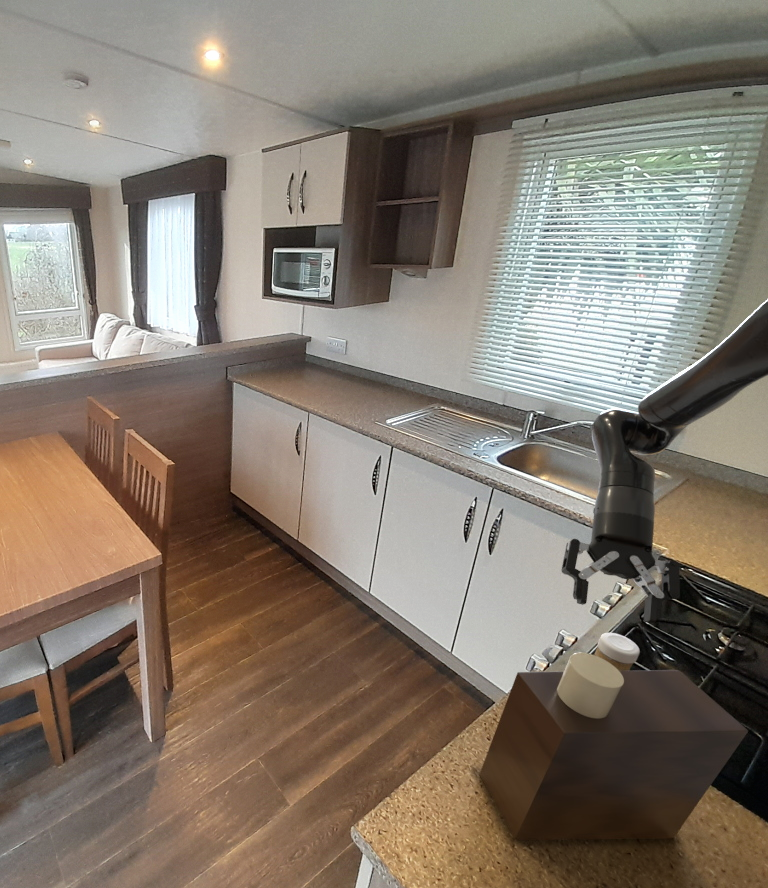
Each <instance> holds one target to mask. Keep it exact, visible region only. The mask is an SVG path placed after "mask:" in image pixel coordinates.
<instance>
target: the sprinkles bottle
mask: <svg viewBox="0 0 768 888" xmlns="http://www.w3.org/2000/svg"><path fill="white" fill-rule="evenodd" d="M640 653H641V651H640V648H639V646H638V645H637V644H636V642H634V641H633V640H631V638H628V637H626V636H624V635H622V634H620V633H615V632H604V633H602V634H601V635H600V637H599V639H598V640H597V648H596V649H595V652H594V654H593V655H595V656H598V657H600V658H602V659H604V660H606V661H607V662H609V663H610V664H612V665H613V666H614V667H616V668H617V669H618V670H619V671H631V667H632V666H633V664H635V663H636V661H637V660H638V658H639V656H640Z"/></svg>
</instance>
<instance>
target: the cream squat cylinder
mask: <svg viewBox="0 0 768 888" xmlns="http://www.w3.org/2000/svg"><path fill="white" fill-rule="evenodd" d="M562 672H563V675H562V677H561V679H560V682H559V684H558V686H557V693H558V695H559V697H560V698H561V700H562V701H563V702H564V703H565V704H566V705H567V706H568V707H570V708H571V709H573V710H574V711H576V712H578V713H580V714H582V715H584V716H587V717H590V718H596V719H600V718H604V717H606V716H607V715H608V714H609V712H610V710H611V708H612V706H613V704H614V702H615V700H616V698H617V696H618V694H619V692H620V690H621V688H622V686H623V684H624V678H623V676H622V674H621V673H620V671H619V670H618V669H617V668H616V667H614V666H613V665H612V664H610V663H609V662H607V661H606V660H604V659H602V658H600V657H598V656H595V655H594V654H591V653H587V652H575V653H573V654H571V655H570V656H569V659H568V661H567V663H566V665H565V667H564V670H563V671H562Z"/></svg>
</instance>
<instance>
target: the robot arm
mask: <svg viewBox="0 0 768 888" xmlns="http://www.w3.org/2000/svg"><path fill="white" fill-rule="evenodd" d="M767 376H768V299H767V300H765V301H764V302H763V303H762V304H760V305H759V306H758V307H757V309H755V310H754V311H753V312H752V313H751V314H750V315H749V316H748V317H747V318H746V319H745V320H744V321H743V322H742V323H740V324H739V326H738V327H737V328H736V329H735V330H734V331H733V332H732V333H731V334H730V335H728V337H726V338H725V339H724V340H723V341H722V342H721V343H719V345H717V346H716V347H715V348H714V349H712V350H711V351H710V352H708V353H707V354H706V355H705V356H703V357H702V358H700V359H699V360H698V361H696V362H694V363H693V364H692V365H690V366H689V367H687V368H686V369H684V370H682V371H680V372H679V373H678V374H676V375H674V376H673V377H671V378H670V379H668V380H667V381H666V382H664V383H663V384H661V385H660V386H658V387H656V388H655V389H653V390H652V391H651V392H649V393H648V394H646V395H645V396H644V397H643V398H642V399H641V400H640V401H639V403H638V406H637V411H638V412H636V411H630V410H626V409H621V408H610V409H606V410H603V411H602V412H601V413H600V414H599V415H598V416H596V417H595V419H594V421H593V422H592V425H591V440H592V445H593V448H594V452H595V455H596V459H597V463H598V467H599V479H598V481H599V482H598V491H597V494H596V498H595V502H594V507H593V511H592V513H593V519H592V520H593V521H592V529H591V540H590V543H584V542H581V541H580V540H579V539H578V538H572V539H570V540H569V541H567V542H566V546H565V550H564V556H563V560H562V566H561V573H562V574H563V575H567V576H569V577H570V578H572V579H573V591H572V596H573V599H574V600H576V604H578V605H582V606H583V605H586V604H587V603H588V602H587V601H588V593H589V584H590V583H589V581H588V579H589V578H591V577H592V576H594V575H595V574H596V573H598V572H601V573H603V575H607V576H615V577H618V578H619V579H623V580H628V581H629V580H632V581H633V582H634V583H635V584H636V586H637V587H639V588H640V589H641V590H642V592H643V593H644V595H645V596H646V598H645V599H644V610H643V622H644V623H648V624H655V623H656V622H657V621H660V620H661V618H662V609H663V601H672V600H676V599H679V598H680V597H681V582H680V579H681V578H680V563H679V562H678V561H676V560H669V561H668V560H663V559H662V560H660V559H655V557H654V556H653V543H654V530H655V529H654V528H655V515H656V514H655V513H656V507H655V497H654V495H655V482H656V471H655V468H654V466H653V465H652V464H651V463H649V462H648V461H646V460H644V459H642V458H639V457H638V456H635V455H634V454H636V455H640V456H651V455H656V454H659V453H661V452H663V451H665V450H666V449H668V448H669V446H670V445H671V444H672V443H673V441H674V440H675V439H676V438H677V437H678V436H679V435H680V434H681V433H682V432H683V431H684V430H685V429H686V428H687V427H688V426H690V425H691V424H693V423H694V422H697V421H698V420H700V419H702V418H704V417H706V416H707V415H709V414H712V412H714V411H716V410H718V409H719V408H721V407H722V406H724V405H725V404H727V403H728V402H730V401H731V400H733V399H734V398H735V397H736V396H737V395H739V394H740V393H741V392H742V391H743V390H744V389H746V388H747V387H748V386H751V385H752V384H754V383H755V382H758V381H760V380H761V379H763V378H765V377H767ZM585 551H586V553H587V555H588V557H590V559H591V561H592V562H591V563H590V564H588V565H587V566H585V567H584V568H583V569H581V570H579V569H577V568H576V566H577V561H578V556H580V555H582V554H583V553H584V552H585ZM653 567H654V568H656V571H657V573H658V574H659V575H661V588H660V587H659V585H658V584H657V582H656V580H655V577H653V575H652V574H651V573H650V571H649V570H650V569H652V568H653Z"/></svg>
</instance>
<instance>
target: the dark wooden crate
mask: <svg viewBox="0 0 768 888" xmlns="http://www.w3.org/2000/svg"><path fill="white" fill-rule="evenodd" d="M563 672H564V671H518V672H517V673H516V676H515V677H514V681H513V683H512V686H511V689H510V692H509V694H508V697H507V699H506V702H505V705H504V708H503V710H502V713H501V716H500V718H499V720H498V724H497V726H496V729H495V730H494V731H495V732H494V734H493V737H492V740H491V742H490V744H489V748H488V750H487V753H486V756H485V759H484V761H483V764H482V766H481V769H480V771H479V774H478V775H479V777H480V779H481V781H482V783H483V785H484V786H485V788H486V790H487V791H488V793H489V795H490V797H491V798H492V801H493V802H494V804H495V806H496V808H497V809H498V811H499V813H500V815H501V817H502V819H503V820H504V822H505V824H506V826H507V827H508V830H509V831H510V833H511V835H512V836H513V839H514V840H516V841H517V840H521V841H523V840H524V841H525V840H528V841H529V840H629V839H630V840H632V839H637V840H638V839H639V840H640V839H641V840H642V839H674V838H675V837H676V836H677V834H678V832H679V831H680V830H681V828H682V827H683V825H684V824H685V823H686V821H687V819H688V818H689V817H690V816H691V814H692V812H693V811H694V810H695V808H696V807H697V805H698V804H699V802H700V801H701V799H702V798H703V797H704V795H705V794H706V793H707V791H708V790H709V788H710V787H711V785H712V784H713V783H714V781H715V779H716V778H717V777H718V776H719V774H720V773H721V771H722V770H723V768H724V767H725V765H726V764H727V763H728V761H729V760H730V759H731V757H732V755H733V754H734V753H735V751H736V750H737V748H738V747H739V745H740V744H741V742H742V741H743V740H744V738H745V737H746V736H747V734H748V732H749V730H748V729H747V728H746V727H745V726H743V724H742V723H740V722H739V721H737V719H736V718H734V717H733V716H732V715H731V714H730V713H729V712H728V711H726V709H724V708H723V707H722V706H721V705H720V704H718V703H717V702H716V701H715V700H714V699H713V698H712V697H710V695H708V694H707V693H706V692H705V691H704V690H703V689H701V688H700V687H699V686H698V685H696V684H695V682H693V681H692V680H691V679H689V678H688V677H687V676H686V675H685V674H684V673H683V672H682V671H681V670H679V669H662V670H661V669H657V670H653V669H652V670H650V669H648V670H646V669H645V670H629V671H620V673H621V674H622V676H623V678H624V684H623V686H622V688H621V690H620V692H619V694H618V696H617V698H616V700H615V702H614V704H613V706H612V708H611V710H610V712H609V714H608V715H607V716H606V717H604V718H600V719H596V718H590V717H587V716H584V715H582V714H580V713H578V712H576V711H574V710H573V709H571V708H570V707H568V706H567V705H566V704H565V703H564V702H563V701H562V700H561V698H560V697H559V695H558V693H557V686H558V684H559V682H560V679H561V677H562V675H563Z"/></svg>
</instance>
